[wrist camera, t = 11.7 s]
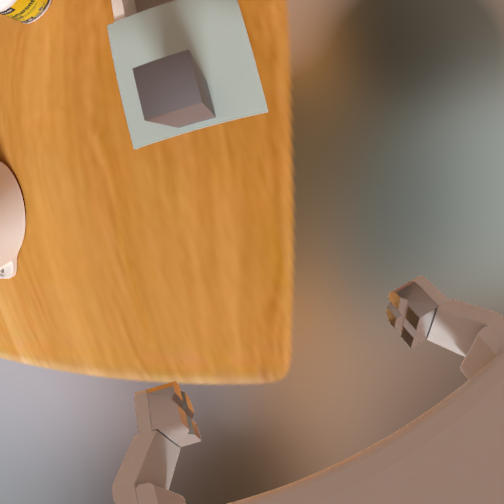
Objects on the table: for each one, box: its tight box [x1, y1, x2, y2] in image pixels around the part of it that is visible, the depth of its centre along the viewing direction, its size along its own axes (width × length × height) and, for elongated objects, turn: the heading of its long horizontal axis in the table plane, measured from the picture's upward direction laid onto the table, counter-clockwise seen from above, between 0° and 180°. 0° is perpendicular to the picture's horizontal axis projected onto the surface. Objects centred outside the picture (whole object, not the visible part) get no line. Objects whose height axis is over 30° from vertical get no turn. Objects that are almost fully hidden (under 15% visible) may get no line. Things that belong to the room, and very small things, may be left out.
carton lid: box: [107, 0, 268, 149], centre depth 17 cm, size 12×11×10 cm
